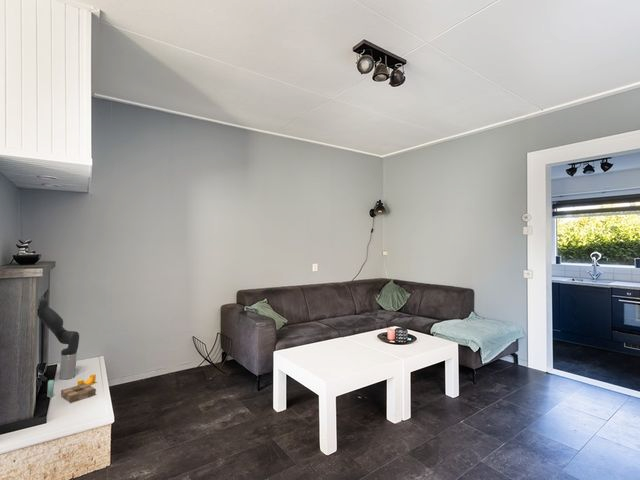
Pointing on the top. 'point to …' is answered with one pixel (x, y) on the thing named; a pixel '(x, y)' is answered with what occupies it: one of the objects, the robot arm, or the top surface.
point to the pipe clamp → (89, 381)
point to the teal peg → (50, 388)
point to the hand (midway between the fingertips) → (43, 382)
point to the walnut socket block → (78, 393)
